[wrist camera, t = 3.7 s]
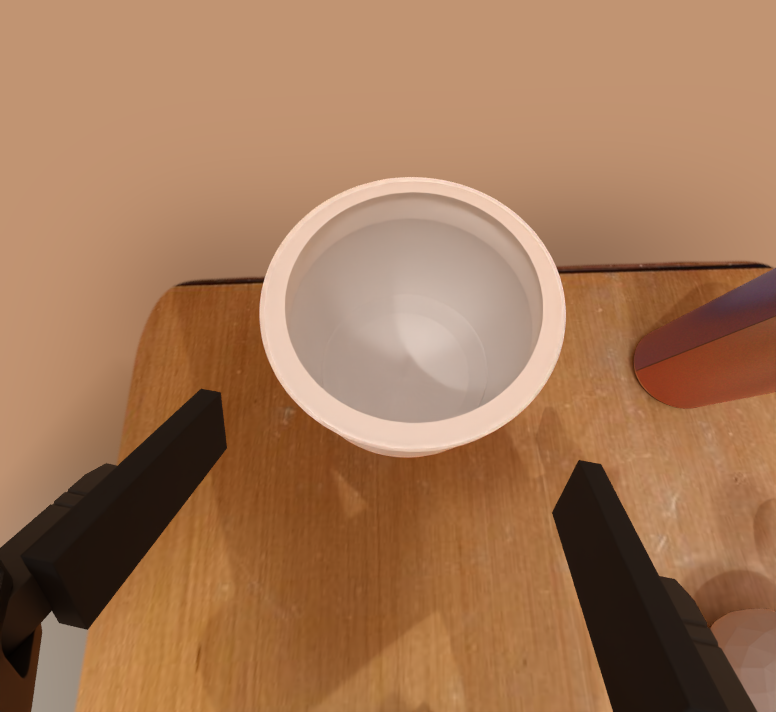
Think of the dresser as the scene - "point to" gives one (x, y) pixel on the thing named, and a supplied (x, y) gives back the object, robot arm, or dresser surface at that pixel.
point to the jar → (412, 315)
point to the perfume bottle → (751, 652)
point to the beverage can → (714, 349)
